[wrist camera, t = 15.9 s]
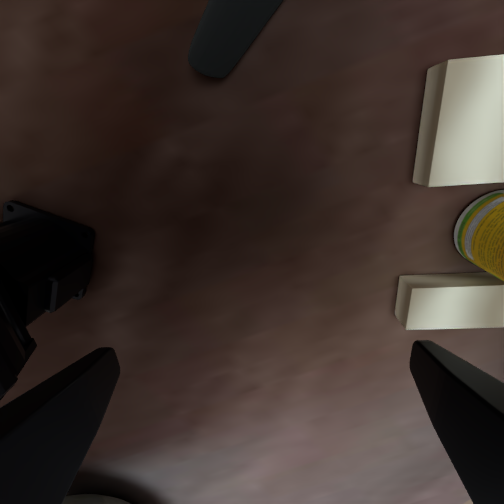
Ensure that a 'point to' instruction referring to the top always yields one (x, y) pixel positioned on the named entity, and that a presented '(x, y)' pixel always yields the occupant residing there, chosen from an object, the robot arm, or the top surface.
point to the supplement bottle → (483, 233)
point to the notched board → (458, 173)
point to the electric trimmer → (227, 33)
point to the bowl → (92, 499)
